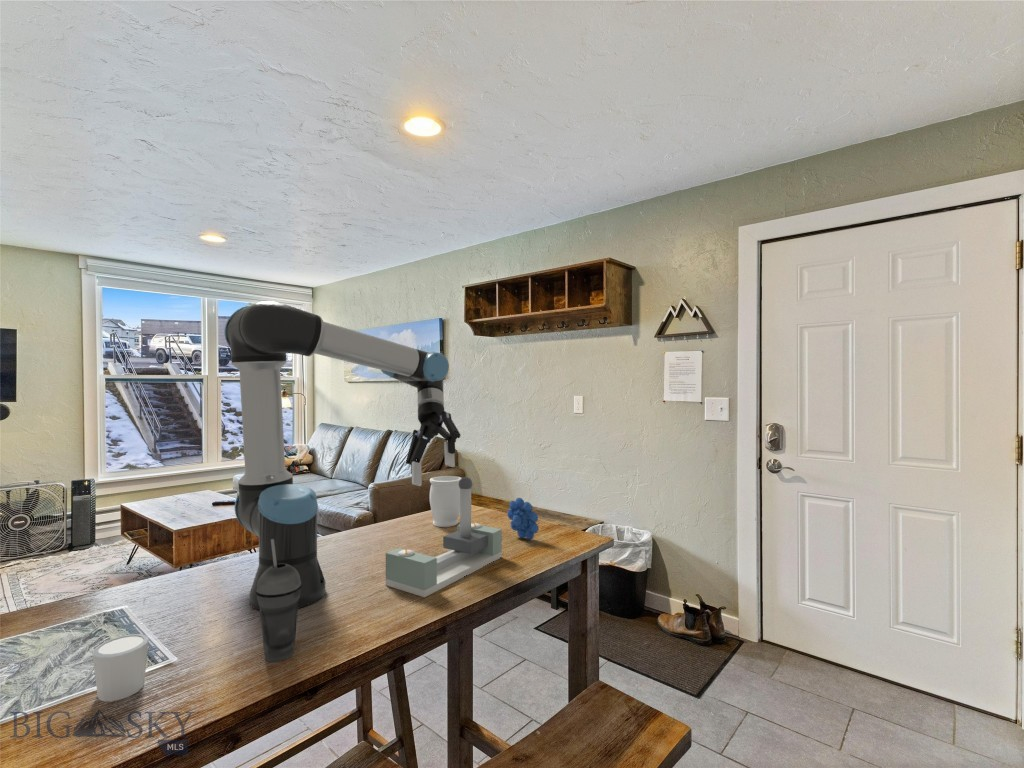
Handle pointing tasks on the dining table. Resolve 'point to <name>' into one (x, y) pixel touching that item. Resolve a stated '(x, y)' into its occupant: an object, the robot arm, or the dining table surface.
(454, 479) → the jar
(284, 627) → the beverage cup
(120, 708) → the dining table surface
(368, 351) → the robot arm
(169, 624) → the dining table surface
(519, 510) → the grapes
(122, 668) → the white cylinder
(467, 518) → the carriage
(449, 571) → the rail stand
